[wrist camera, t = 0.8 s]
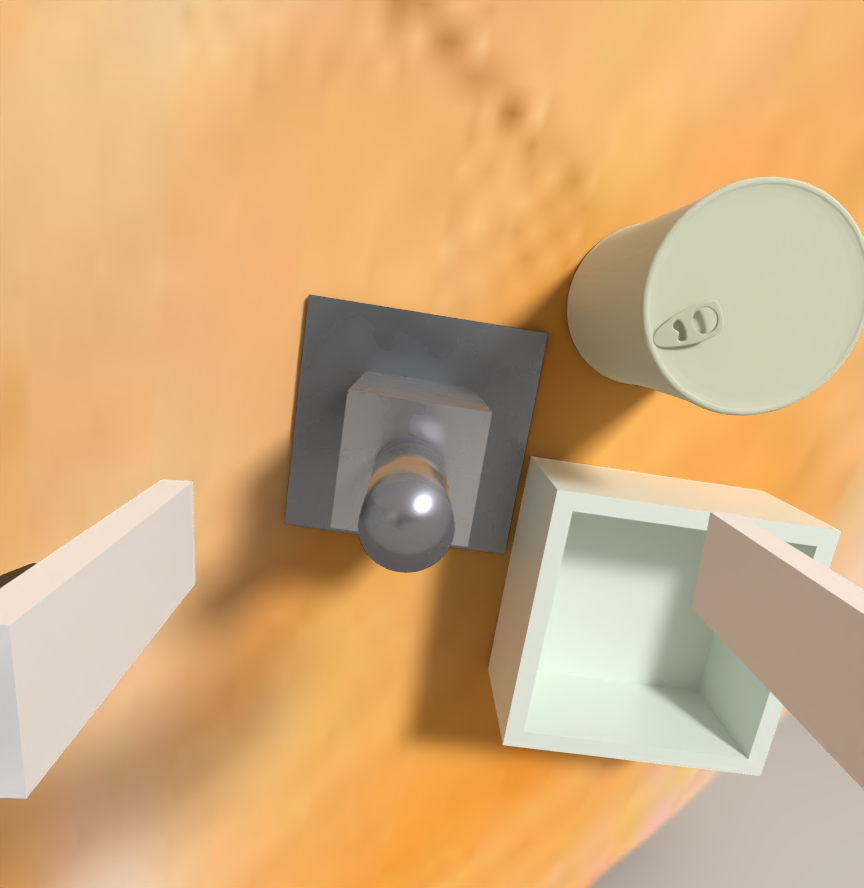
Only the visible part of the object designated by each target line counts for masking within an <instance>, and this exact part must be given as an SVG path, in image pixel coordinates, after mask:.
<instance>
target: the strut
mask: <svg viewBox="0 0 864 888" xmlns="http://www.w3.org/2000/svg"><path fill="white" fill-rule="evenodd" d="M491 417H492V412H491V410H490V409H489V408H488V406H487V405H486V404H485V402H484V401H483V400H482V398H481V397H480V396H479V394H478V393H477V392H476V390H475V389H474V388H473V387H467V386H461V385H454V384H448V383H441V382H435V381H429V380H422V379H416V378H409V377H403V376H396V375H390V374H383V373H377V372H371V371H366V372H365V373H364V374H363V375H362V376H361V377H360V378H359V379H358V380H357V381H356V382H355V383H354V384H353V385H352V386H351V388H350V389H349V390H348V393H347V400H346V408H345V416H344V424H343V432H342V440H341V448H340V456H339V464H338V472H337V480H336V488H335V496H334V504H333V512H332V519H331V527H330V528H336V529H343V530H350V531H357V532H358V534H359V538H360V541H361V544H362V546H363V548H364V550H365V551H366V553H367V554H368V555H369V556H370V557H371V558H372V559H373V560H374V561H375V562H376V563H378V564H379V565H381V566H382V567H385V568H387V569H389V570H392V571H397V572H405V573H407V572H416V571H420V570H424V569H426V568H428V567H430V566H432V565H434V564H435V563H437V562H438V561H439V560H440V559H441V558H442V557H443V556H444V555H445V554H446V552H447V551H448V549H449V548H450V546H451V545H458V546H465V547H468V543H469V537H470V532H471V526H472V521H473V515H474V510H475V504H476V499H477V493H478V488H479V482H480V477H481V471H482V466H483V460H484V455H485V449H486V444H487V438H488V433H489V428H490V422H491Z"/></svg>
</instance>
